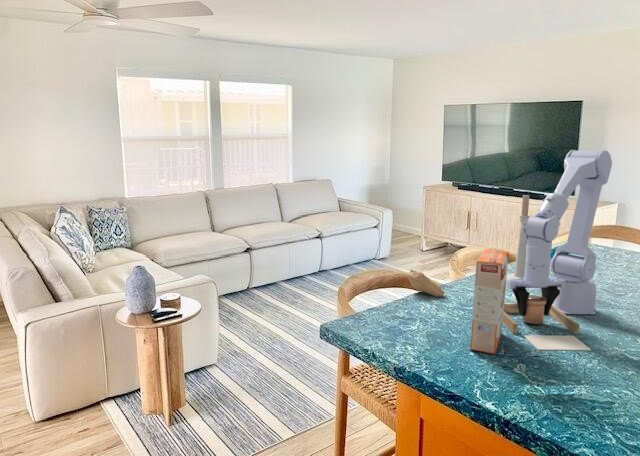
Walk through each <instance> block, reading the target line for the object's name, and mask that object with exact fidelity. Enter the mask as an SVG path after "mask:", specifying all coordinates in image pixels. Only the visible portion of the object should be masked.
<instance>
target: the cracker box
mask: <svg viewBox="0 0 640 456" xmlns="http://www.w3.org/2000/svg"><path fill="white" fill-rule="evenodd" d="M509 254H510V253H509V251H507V250H498V249H497V250H496V249H487V248H486V249H484V250H483V251H482V252H481V254H480V255H479V257H478V259H476V263H475V264H476V265H475V277H474V279H475V280H474V291H473V304H472V314H471V315H472V316H471V317H472V318H471V331H470V332H471V333H470V343H469V346H470V347H469V349H470V350H471V351H477V352H482V353H486V354H491V355H496V353H497V351H498V350H497V349H498V346H499V343H500V340H501V336H502V332H503V323H502V322H503V312H504V303H505V300H506V299H505V298H506V291H507V290H506V288H507V283H506V278H507V275H508V263H509Z"/></svg>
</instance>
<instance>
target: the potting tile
mask: <svg viewBox="0 0 640 456" xmlns="http://www.w3.org/2000/svg"><path fill="white" fill-rule="evenodd" d="M523 337H524V338H525V339H526V340H527V341H528V342H529V344H531V345H532V346H533V347H534V348H535V349H536V350H537V351H592V349H591V348H590V347H588V346H587V345H586V344H585V343H583V342H582V341H581V340H579V338H577V337H575V335H531V334H529V335H528V334H527V335H523Z"/></svg>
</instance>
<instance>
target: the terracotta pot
mask: <svg viewBox="0 0 640 456" xmlns="http://www.w3.org/2000/svg"><path fill="white" fill-rule="evenodd" d="M546 302H547V299H546V298H544V297H542V295H541V296H540V295H534V294H529V297H528V300H527V305H526V315H525V316H522V321H523V322H525V323H527V324H528V323H529V324H533V325H534V324H535V325H541V324H543V323H544V320H545V315H544V310H545V305H546Z"/></svg>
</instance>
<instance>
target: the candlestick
mask: <svg viewBox="0 0 640 456" xmlns="http://www.w3.org/2000/svg"><path fill="white" fill-rule="evenodd" d="M521 203H522V204H521V214H519V215H518V217H519V221H520V224H521V225H520V226H519V235H518V242H517V250H516V258H515V266H514V272H513V273H510V274H507V278H506V284H507V280H512V279H519V278H524V276H525V263H526V250H527V245H526V244H525V236H524V234H523V227H524V224H525V222H526V220H527V219H528V218H530V217H531V215H529V206H530V195H528V194H525V195H524V194H523V195H522V202H521Z"/></svg>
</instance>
